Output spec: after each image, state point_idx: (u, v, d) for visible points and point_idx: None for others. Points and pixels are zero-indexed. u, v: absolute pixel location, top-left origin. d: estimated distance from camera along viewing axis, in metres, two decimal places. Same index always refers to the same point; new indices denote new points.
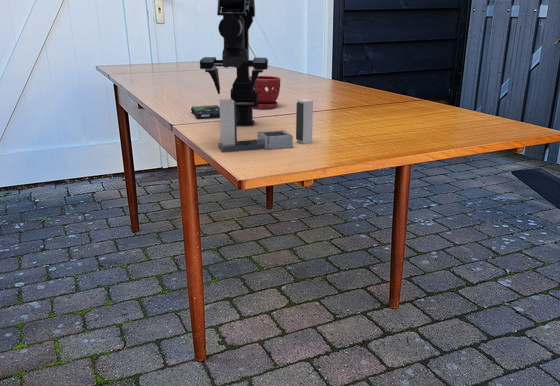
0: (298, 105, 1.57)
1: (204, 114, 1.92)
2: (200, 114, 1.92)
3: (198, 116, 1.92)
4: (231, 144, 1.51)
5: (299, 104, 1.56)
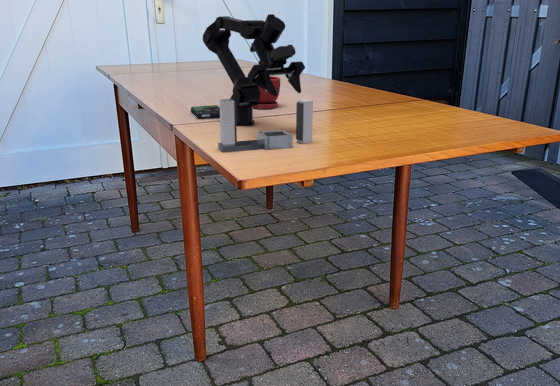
0: (298, 105, 1.57)
1: (204, 114, 1.92)
2: (200, 114, 1.92)
3: (198, 116, 1.92)
4: (231, 144, 1.51)
5: (299, 104, 1.56)
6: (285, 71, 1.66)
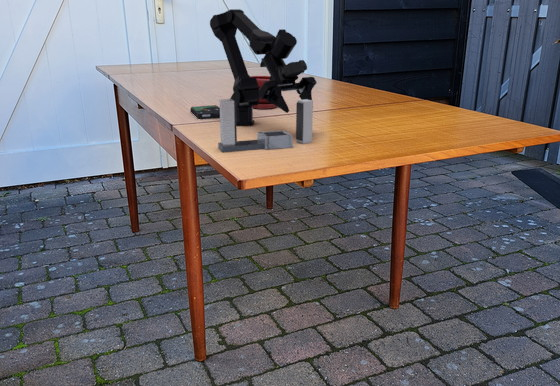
0: (298, 105, 1.57)
1: (205, 114, 1.92)
2: (201, 114, 1.92)
3: (199, 116, 1.92)
4: (231, 144, 1.51)
5: (299, 104, 1.56)
6: (296, 87, 1.64)
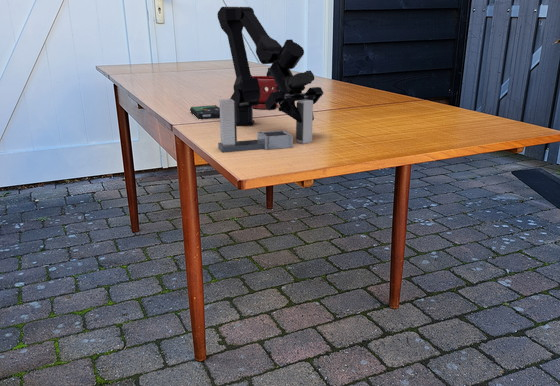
0: (298, 105, 1.57)
1: (205, 114, 1.92)
2: (201, 114, 1.92)
3: (199, 116, 1.91)
4: (231, 144, 1.51)
5: (299, 104, 1.56)
6: (303, 97, 1.62)
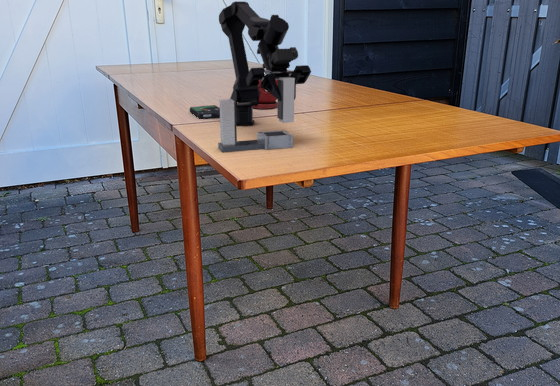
0: (279, 82, 1.52)
1: (206, 114, 1.92)
2: (202, 114, 1.91)
3: (200, 116, 1.91)
4: (231, 144, 1.51)
5: (279, 81, 1.51)
6: None
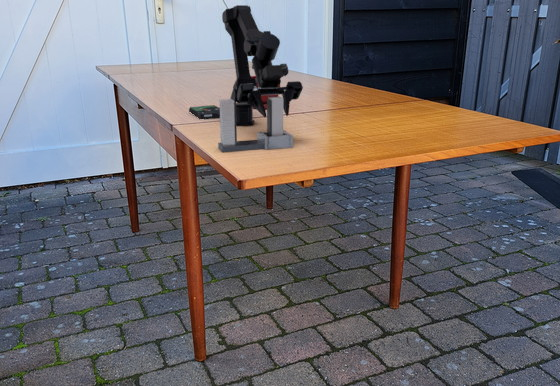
0: (268, 102, 1.53)
1: (207, 114, 1.92)
2: (203, 114, 1.91)
3: (201, 116, 1.91)
4: (231, 144, 1.51)
5: (268, 101, 1.52)
6: (280, 91, 1.57)
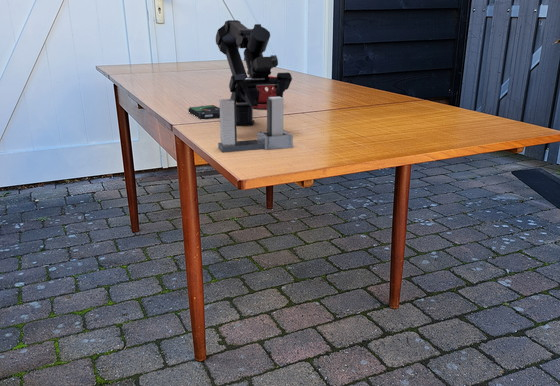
0: (268, 102, 1.53)
1: (207, 114, 1.92)
2: (204, 114, 1.91)
3: (202, 116, 1.91)
4: (231, 144, 1.51)
5: (268, 101, 1.52)
6: (270, 82, 1.64)
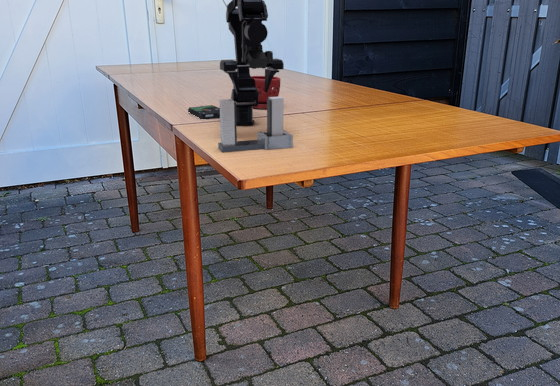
0: (268, 102, 1.53)
1: (208, 114, 1.92)
2: (204, 114, 1.91)
3: (202, 116, 1.91)
4: (231, 144, 1.51)
5: (268, 101, 1.52)
6: None
